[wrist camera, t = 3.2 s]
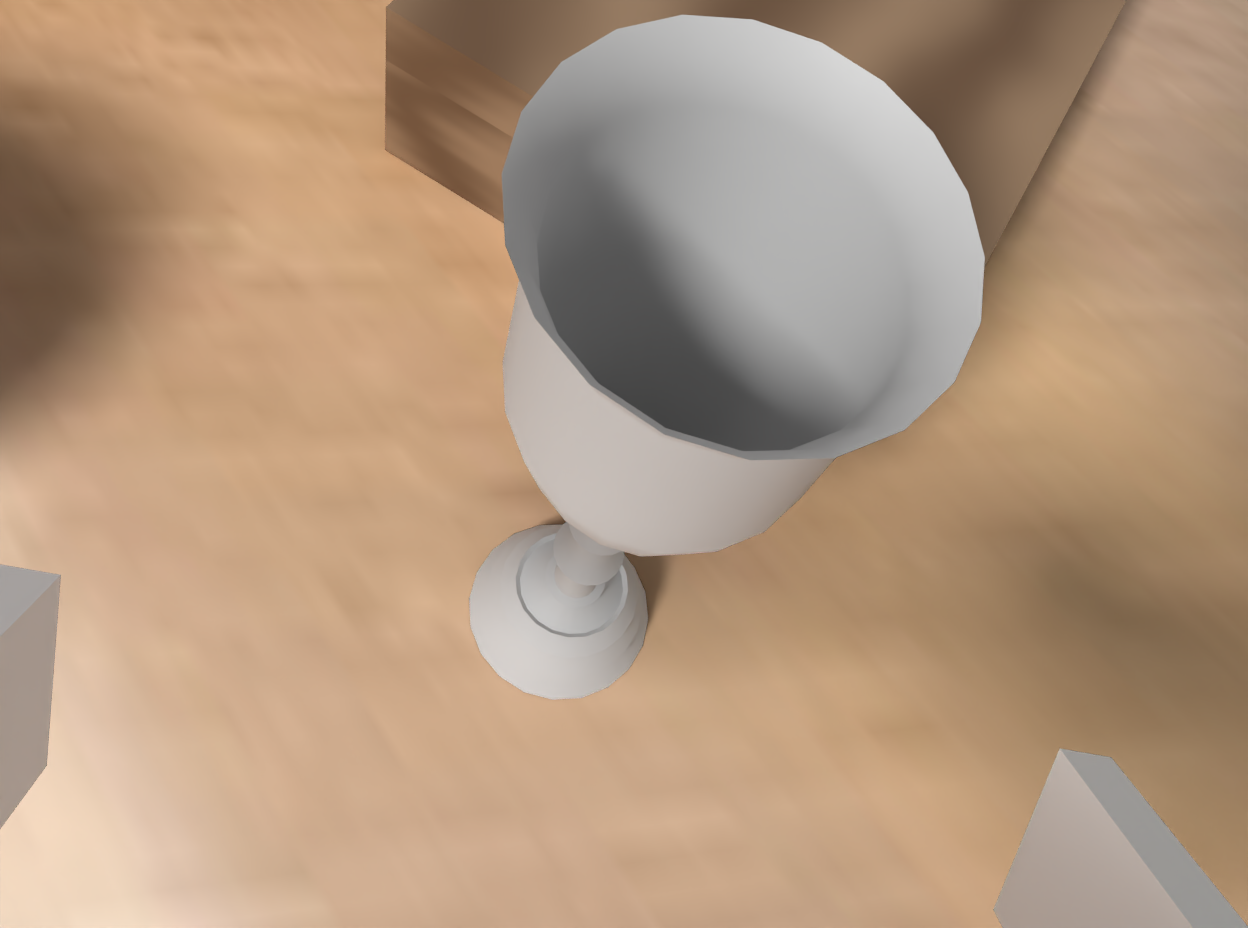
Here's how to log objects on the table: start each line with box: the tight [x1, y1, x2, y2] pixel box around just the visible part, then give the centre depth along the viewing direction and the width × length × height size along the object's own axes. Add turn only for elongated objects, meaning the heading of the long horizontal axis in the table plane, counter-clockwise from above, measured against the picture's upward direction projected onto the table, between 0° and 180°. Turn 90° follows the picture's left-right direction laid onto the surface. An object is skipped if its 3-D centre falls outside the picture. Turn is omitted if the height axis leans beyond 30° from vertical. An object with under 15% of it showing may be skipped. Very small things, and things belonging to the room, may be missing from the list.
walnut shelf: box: [385, 0, 1126, 268], centre depth 38 cm, size 18×22×6 cm
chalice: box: [469, 15, 985, 700], centre depth 23 cm, size 7×7×18 cm
